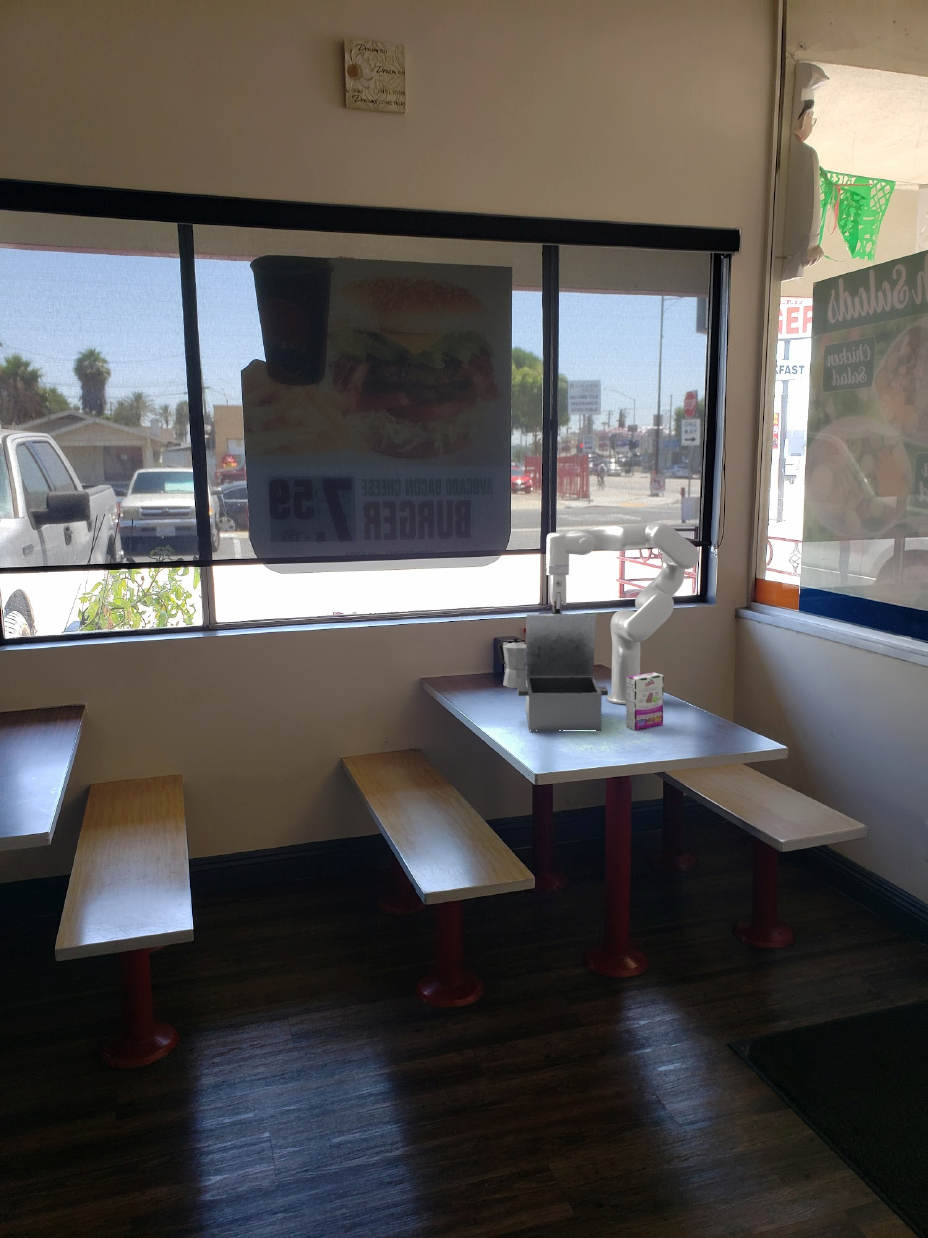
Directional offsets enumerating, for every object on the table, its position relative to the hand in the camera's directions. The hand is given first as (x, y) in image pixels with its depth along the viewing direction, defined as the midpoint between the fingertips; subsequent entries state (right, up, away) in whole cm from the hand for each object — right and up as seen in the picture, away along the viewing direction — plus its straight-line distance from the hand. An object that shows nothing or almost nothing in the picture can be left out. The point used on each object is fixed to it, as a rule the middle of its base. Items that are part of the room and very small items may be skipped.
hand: (556, 624), depth 301 cm
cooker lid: (0, -7, -11) cm, 13 cm away
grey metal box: (0, -31, -15) cm, 34 cm away
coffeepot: (-13, -23, +34) cm, 43 cm away
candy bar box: (+25, -32, -21) cm, 46 cm away
